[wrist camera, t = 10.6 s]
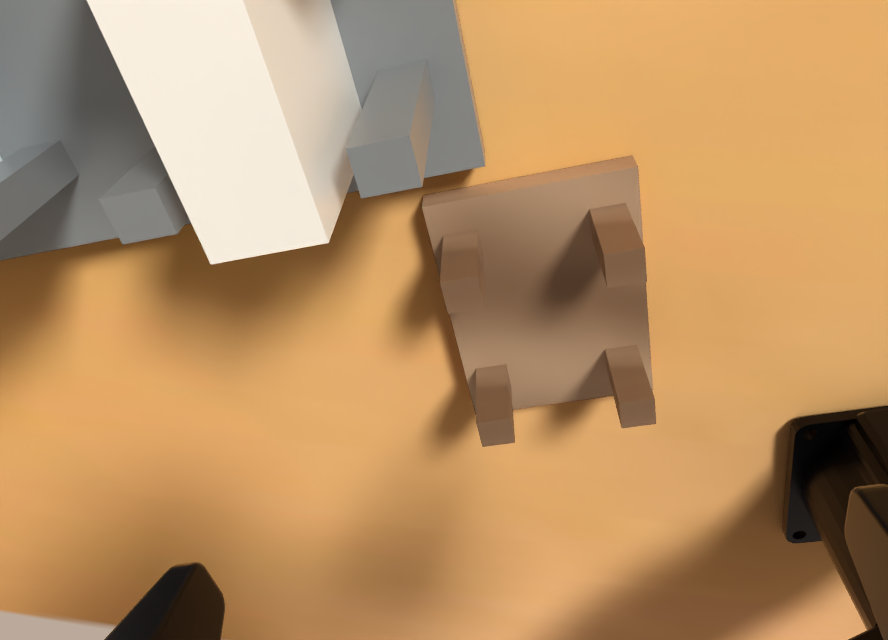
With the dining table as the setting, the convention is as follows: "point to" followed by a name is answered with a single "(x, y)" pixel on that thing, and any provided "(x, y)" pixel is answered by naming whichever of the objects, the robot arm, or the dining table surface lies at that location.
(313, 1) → the white rectangular block
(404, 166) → the rack
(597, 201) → the stand
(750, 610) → the dining table surface
